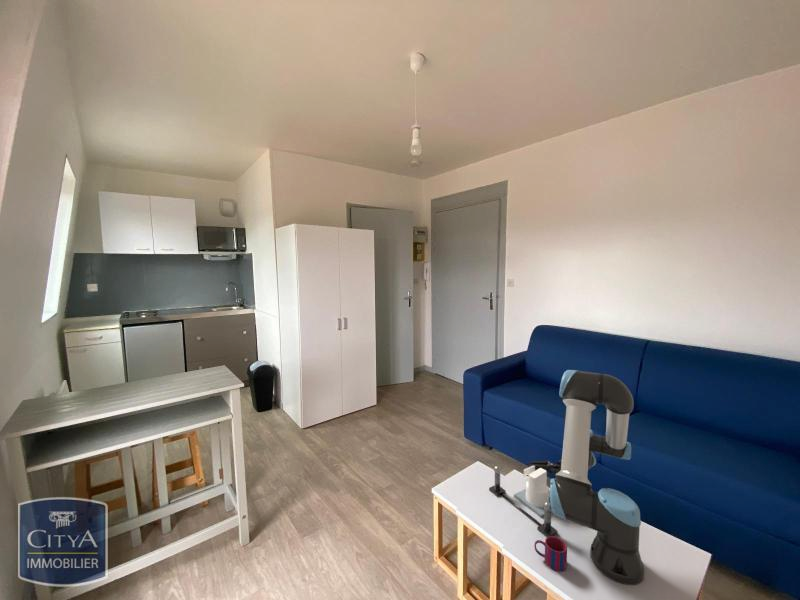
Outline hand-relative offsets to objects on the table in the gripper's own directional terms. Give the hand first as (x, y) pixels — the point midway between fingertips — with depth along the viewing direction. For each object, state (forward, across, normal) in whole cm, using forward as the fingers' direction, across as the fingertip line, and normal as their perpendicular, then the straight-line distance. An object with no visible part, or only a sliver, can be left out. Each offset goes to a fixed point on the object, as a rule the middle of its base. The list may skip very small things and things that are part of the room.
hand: (537, 481), depth 140 cm
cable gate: (+10, 0, -9) cm, 14 cm away
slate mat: (0, 0, -9) cm, 9 cm away
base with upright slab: (0, 0, -8) cm, 8 cm away
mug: (+20, -22, -9) cm, 31 cm away
